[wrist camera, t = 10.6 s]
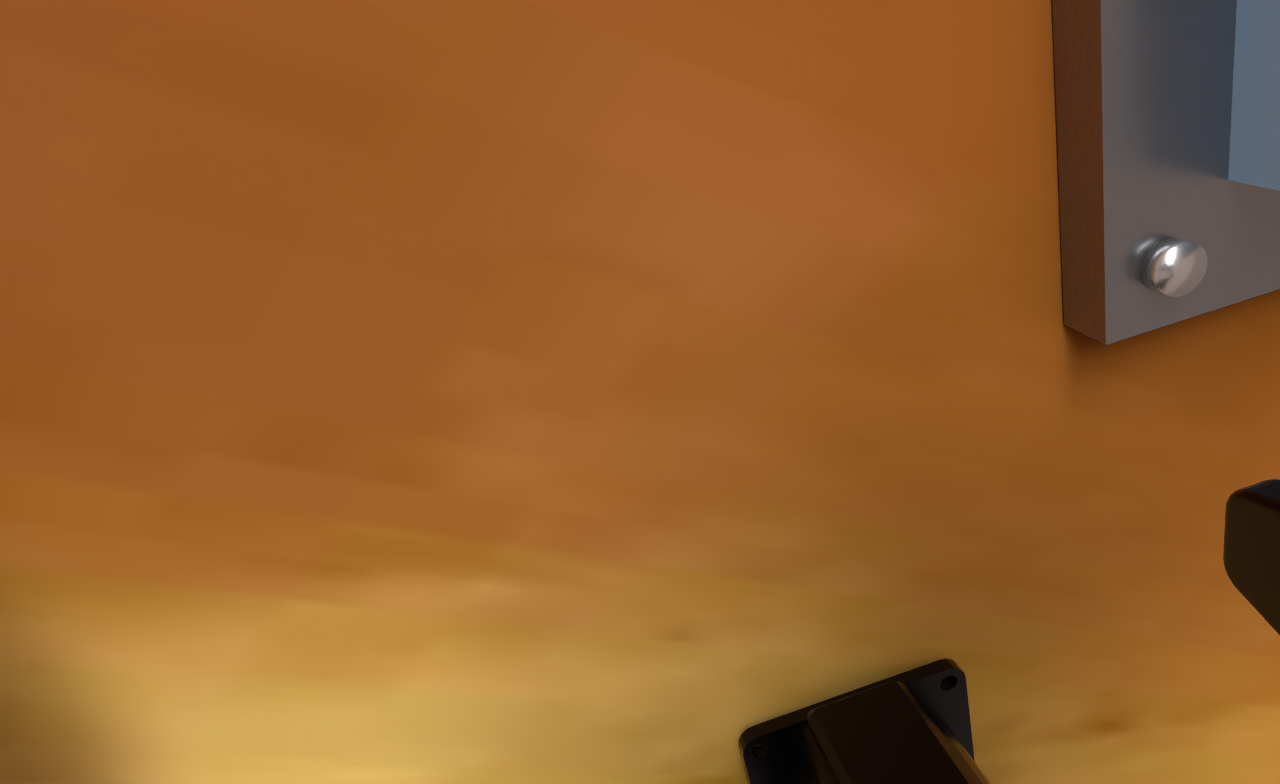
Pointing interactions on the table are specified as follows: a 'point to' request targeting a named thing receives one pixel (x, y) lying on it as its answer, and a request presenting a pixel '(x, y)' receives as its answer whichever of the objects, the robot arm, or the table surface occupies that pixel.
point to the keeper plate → (1153, 168)
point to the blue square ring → (1256, 95)
